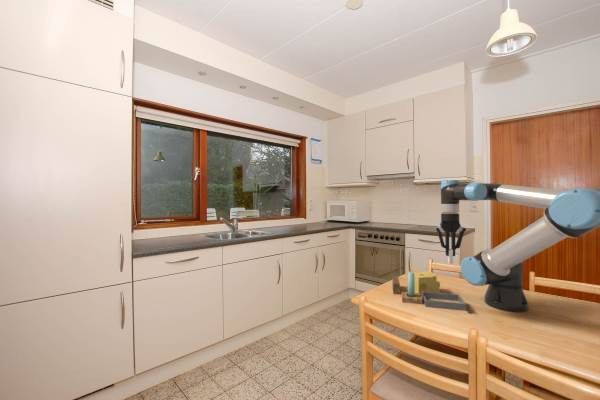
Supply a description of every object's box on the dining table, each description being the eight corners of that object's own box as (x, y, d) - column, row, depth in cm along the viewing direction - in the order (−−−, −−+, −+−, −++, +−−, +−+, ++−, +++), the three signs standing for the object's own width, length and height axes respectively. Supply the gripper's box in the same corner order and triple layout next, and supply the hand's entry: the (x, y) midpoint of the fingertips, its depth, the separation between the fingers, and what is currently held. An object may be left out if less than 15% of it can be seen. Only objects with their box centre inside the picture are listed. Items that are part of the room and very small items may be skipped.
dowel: (414, 299, 123) (414, 272, 123) (415, 301, 120) (414, 274, 120) (407, 298, 124) (407, 272, 124) (408, 300, 121) (407, 273, 121)
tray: (459, 302, 120) (458, 294, 120) (466, 313, 110) (466, 304, 110) (421, 299, 125) (421, 291, 125) (425, 309, 114) (425, 300, 114)
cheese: (441, 298, 126) (440, 276, 126) (417, 298, 126) (417, 277, 126) (430, 290, 136) (430, 270, 136) (409, 291, 137) (408, 271, 137)
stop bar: (398, 288, 140) (398, 276, 140) (399, 296, 129) (399, 283, 129) (392, 287, 141) (392, 276, 141) (393, 295, 130) (393, 283, 130)
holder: (419, 299, 125) (419, 293, 125) (422, 306, 117) (422, 299, 117) (401, 298, 127) (401, 291, 127) (402, 304, 119) (402, 297, 119)
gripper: (463, 212, 129) (463, 261, 130) (433, 212, 133) (433, 260, 133) (468, 213, 122) (468, 265, 122) (436, 213, 126) (436, 263, 126)
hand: (450, 262), depth 128 cm, fingers closed
